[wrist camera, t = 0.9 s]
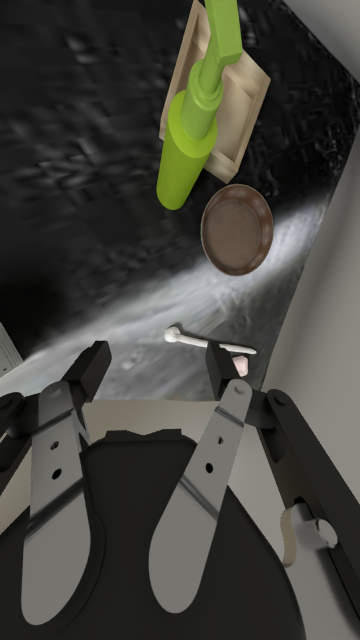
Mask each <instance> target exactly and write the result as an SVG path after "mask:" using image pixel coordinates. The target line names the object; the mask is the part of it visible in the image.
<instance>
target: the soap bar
mask: <svg viewBox="0 0 360 640" xmlns="http://www.w3.org/2000/svg"><path fill="white" fill-rule="evenodd" d="M232 359H233V361H234V364H235V366H236V368H237V370H238V372H239V374H240V376H243V375H246V374H247V373H248V359H247V358H245V357H244V356H238V357H235V358H232Z"/></svg>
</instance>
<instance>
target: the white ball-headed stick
mask: <svg viewBox="0 0 360 640" xmlns="http://www.w3.org/2000/svg"><path fill="white" fill-rule="evenodd" d="M165 339H166V340H167V341H168V342H175V341H181V342H184V343H188V344H193V345H197V346H202V347H207V344H208V341H205V340H200V339H196V338H192V337H188V336H184V335H181V334H180V331H179V330H178V328H177V327H170V328H168V329H167V330H166V331H165ZM219 345H220V347H221V348H226V349H227V350H228V351H236V352H244V353H250V354H255V353H256V351H255V350H253V349H251V348H245V347H240V346H235V345H229V344H219Z"/></svg>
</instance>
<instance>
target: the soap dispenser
mask: <svg viewBox="0 0 360 640" xmlns="http://www.w3.org/2000/svg"><path fill="white" fill-rule="evenodd" d="M205 5H206V10H207V16H208V21H209V27H210V32H211V36H210V40H209V44H208V47H207V51H206V54H205V58H204V59H201V60H198V61H197V62H196V63H195V64H194V65H193V66H192V69H191V71H190V75H189V79H188V83H187V88H186V90H182V91H180V92H179V93H178V94H176V96H175V97H174V98H173V100H172V102H171V104H170V107H169V112H168V119H167V125H166V131H165V138H164V144H163V151H162V157H161V164H160V170H159V176H158V183H157V195H158V198H159V200H160V202H161V203H162V205H163V206H165V207H166V208H168V209H171V210H176V209H179V208H180V207H182V206H183V204H184V202H185V201H186V199H187V197H188V195H189V193H190V191H191V189H192V187H193V185H194V183H195V181H196V180H197V178H198V176H199V174H200V172H201V170H202V168H203V166H204V164H205V162H206V161H207V159H208V157H209V155H210V153H211V151H212V149H213V147H214V145H215V143H216V139H217V132H218V127H217V119H216V113H217V111H218V108H219V106H220V104H221V101H222V98H223V81H222V77H221V75H222V73H223V70H224V67H225V66H227V65H231V64H235V63H238V61H239V59H240V57H241V54H242V43H241V34H240V25H239V16H238V9H237V1H236V0H205Z"/></svg>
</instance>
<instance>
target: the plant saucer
mask: <svg viewBox="0 0 360 640" xmlns="http://www.w3.org/2000/svg"><path fill="white" fill-rule="evenodd" d="M272 239H273V219H272V214H271V211H270V209H269V206H268V204H267V202H266V201H265V199H264V198H263V196H262V195H261V194H260V193H259V192H257V191H256V190H255V189H253V188H252V187H250V186H247V185H242V184H233V185H229V186H226V187H224V188H222V189H221V190H219V191H218V192H217V193H216V194H215V195H214V196H213V197H212V198H211V200H210V201H209V203H208V204H207V206H206V208H205V211H204V214H203V217H202V222H201V240H202V245H203V249H204V251H205V254H206V256H207V258H208V259H209V261H210V262H211V264H212V265H213V266H214V267H215V268H216V269H217V270H219V271H220V272H222V273H224V274H226V275H229V276H243V275H246V274H249V273H251V272H252V271H254V270H255V269H257V268H258V267H259V266H260V265H261V264H262V262H263V261H264V260H265V258H266V256H267V255H268V253H269V250H270V247H271V244H272Z"/></svg>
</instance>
